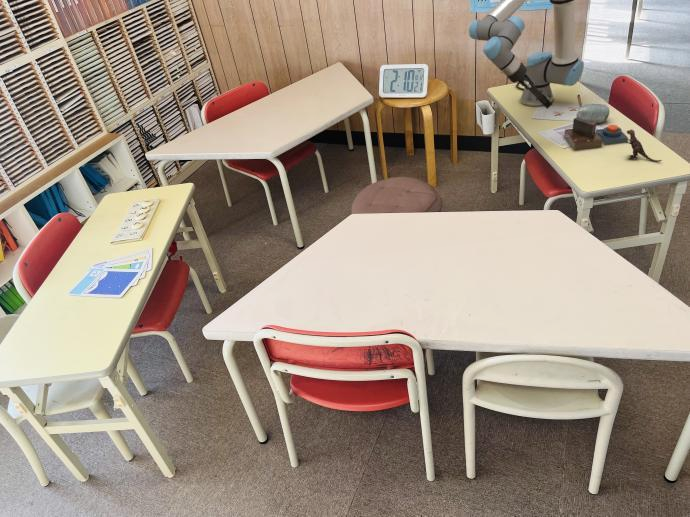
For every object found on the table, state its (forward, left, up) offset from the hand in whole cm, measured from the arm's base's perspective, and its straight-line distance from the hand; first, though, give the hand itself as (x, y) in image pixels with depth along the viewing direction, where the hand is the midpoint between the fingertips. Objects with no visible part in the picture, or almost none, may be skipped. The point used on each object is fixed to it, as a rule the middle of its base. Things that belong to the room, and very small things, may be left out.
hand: (549, 105), depth 224 cm
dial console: (+4, +14, -17) cm, 22 cm away
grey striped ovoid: (-14, +24, -17) cm, 33 cm away
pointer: (+4, +14, -13) cm, 20 cm away
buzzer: (+4, +26, -17) cm, 31 cm away
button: (+4, +26, -13) cm, 29 cm away
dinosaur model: (+25, +30, -17) cm, 43 cm away
